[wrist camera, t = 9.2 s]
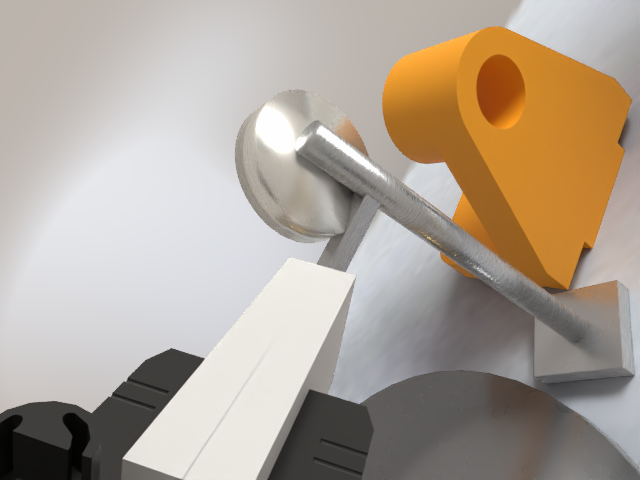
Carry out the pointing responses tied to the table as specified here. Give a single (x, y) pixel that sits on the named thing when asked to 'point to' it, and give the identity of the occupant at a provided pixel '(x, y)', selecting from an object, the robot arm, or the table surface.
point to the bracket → (514, 143)
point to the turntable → (484, 433)
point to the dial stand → (418, 217)
